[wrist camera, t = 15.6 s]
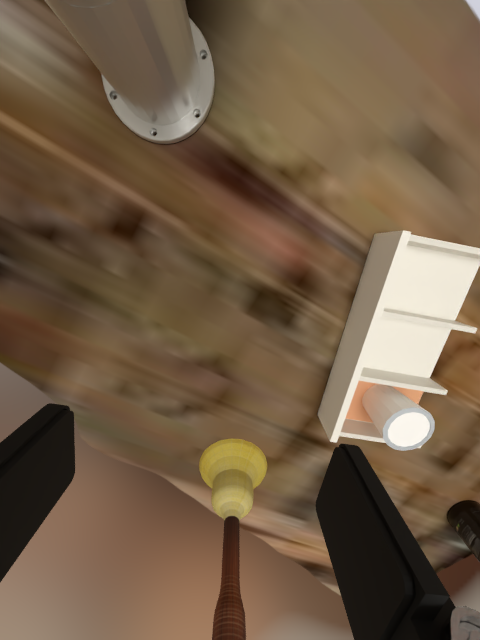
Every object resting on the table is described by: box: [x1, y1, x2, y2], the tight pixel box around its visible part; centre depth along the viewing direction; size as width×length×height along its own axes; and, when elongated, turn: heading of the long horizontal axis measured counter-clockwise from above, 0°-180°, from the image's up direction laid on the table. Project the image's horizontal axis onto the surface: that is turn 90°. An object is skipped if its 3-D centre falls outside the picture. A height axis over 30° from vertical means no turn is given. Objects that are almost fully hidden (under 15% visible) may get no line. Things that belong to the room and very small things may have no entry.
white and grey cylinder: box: [362, 384, 435, 451], centre depth 36 cm, size 7×7×7 cm
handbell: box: [199, 439, 267, 640], centre depth 32 cm, size 12×12×25 cm
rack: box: [317, 230, 480, 448], centre depth 35 cm, size 29×15×6 cm, turn 170°
